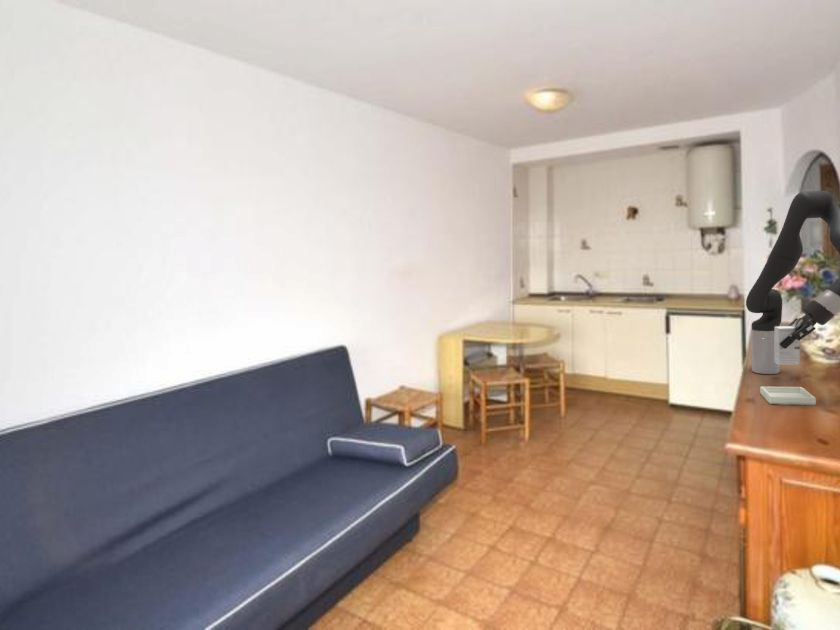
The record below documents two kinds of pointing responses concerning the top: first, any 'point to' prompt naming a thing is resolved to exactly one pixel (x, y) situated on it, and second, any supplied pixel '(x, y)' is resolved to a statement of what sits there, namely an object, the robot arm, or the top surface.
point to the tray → (787, 396)
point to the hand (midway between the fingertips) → (779, 345)
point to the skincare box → (791, 352)
